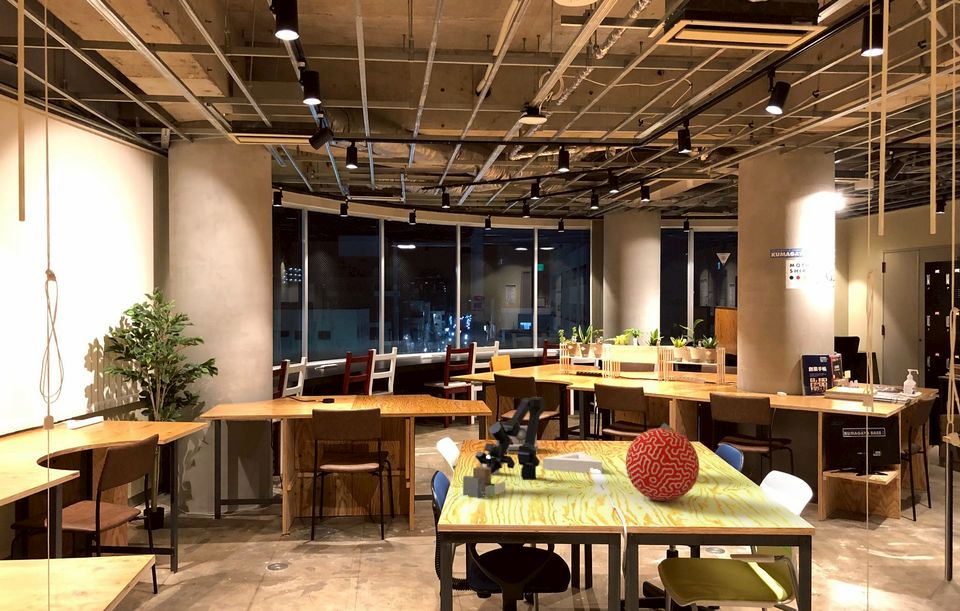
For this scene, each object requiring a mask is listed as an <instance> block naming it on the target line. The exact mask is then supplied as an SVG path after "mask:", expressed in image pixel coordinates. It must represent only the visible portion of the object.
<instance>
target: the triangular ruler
mask: <svg viewBox="0 0 960 611" xmlns="http://www.w3.org/2000/svg"><path fill="white" fill-rule="evenodd" d="M590 468H593V469H598V470H600V471H601V472H602V473H603V462H602V461H600V460H599V459H596V458H595V457H593V456H591V455H589V454H587V453H585V452H584V451H582V450H581V451H576V452H570V453H565V454H560V455H555V456H549V457H543V458H542V470H543V469H547V470H546V471H553V470H560V471H559V472H568V471H572V472H573V473H584V474H585V473H586V474H590V473H589V471H590ZM572 472H571V473H572Z"/></svg>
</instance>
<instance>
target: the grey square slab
mask: <svg viewBox="0 0 960 611" xmlns="http://www.w3.org/2000/svg"><path fill="white" fill-rule="evenodd" d="M462 485H463V486H462V487H463V488H462V496H465V495H468V496H467V497H471V496H473V497H472V498H476V497H479V498H481V497H480V496H481V478H478V477H473V475H464V476H463V477H462Z"/></svg>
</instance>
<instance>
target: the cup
mask: <svg viewBox="0 0 960 611" xmlns="http://www.w3.org/2000/svg"><path fill="white" fill-rule="evenodd" d="M486 455H489V454H488V453H487V454H486ZM489 456H490V455H489ZM478 462H479V461H478ZM478 465H479V467H480V466H481V467H487V464H481V463H480V462H479V464H478ZM483 465H484V466H483ZM498 473H499V474H500V469H498V470H497V471H495V472H494V473H492V474H497V475H499V474H498Z"/></svg>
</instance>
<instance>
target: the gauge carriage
mask: <svg viewBox="0 0 960 611" xmlns="http://www.w3.org/2000/svg"><path fill="white" fill-rule="evenodd" d="M472 474H473V475H472V477H478V478H481V490H483V491H485V487H487V486H490V485H493V486H494V485H495V484H496V483H492V475H491V468H488V467H485V466H483V467H481V466H480V465H479V466H477V467H473V472H472Z"/></svg>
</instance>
